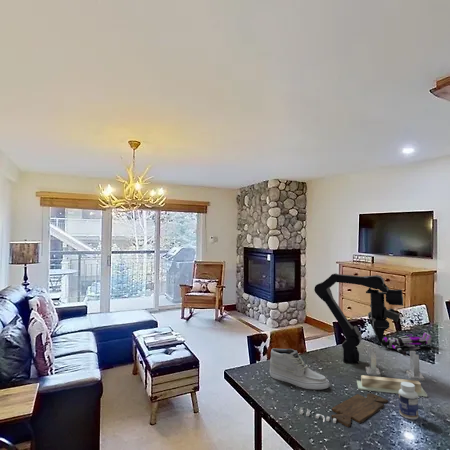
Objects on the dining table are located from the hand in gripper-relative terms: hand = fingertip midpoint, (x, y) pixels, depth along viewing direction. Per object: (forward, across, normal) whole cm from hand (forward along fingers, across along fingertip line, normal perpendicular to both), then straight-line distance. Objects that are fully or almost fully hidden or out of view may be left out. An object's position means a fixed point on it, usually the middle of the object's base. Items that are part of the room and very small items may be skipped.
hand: (378, 338), depth 147 cm
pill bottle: (+12, -43, -2) cm, 45 cm away
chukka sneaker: (+12, -26, +34) cm, 45 cm away
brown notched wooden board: (+13, -43, +13) cm, 46 cm away
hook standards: (+12, -9, -4) cm, 16 cm away
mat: (+12, -24, 0) cm, 27 cm away
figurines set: (+12, -52, +26) cm, 60 cm away
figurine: (+13, +31, -17) cm, 38 cm away
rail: (+12, -24, 0) cm, 27 cm away
